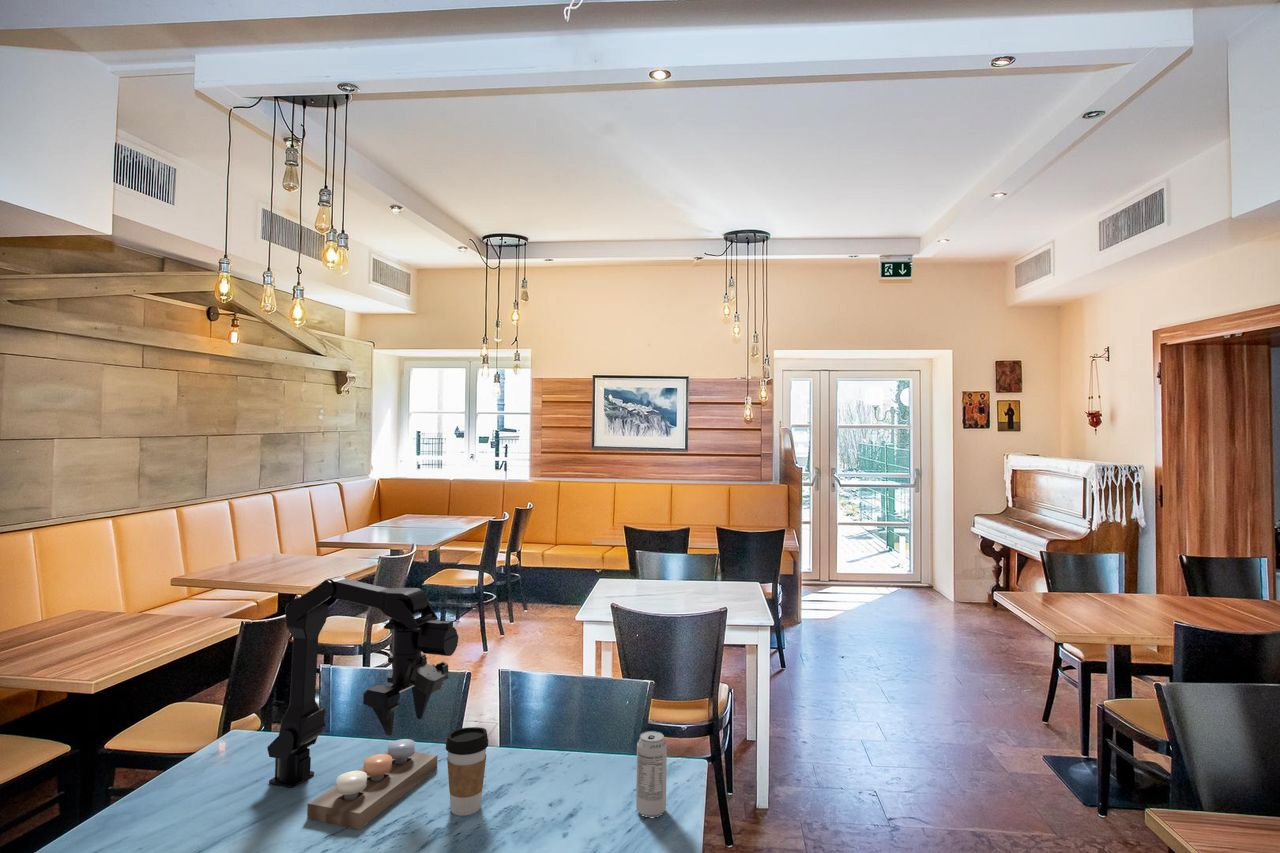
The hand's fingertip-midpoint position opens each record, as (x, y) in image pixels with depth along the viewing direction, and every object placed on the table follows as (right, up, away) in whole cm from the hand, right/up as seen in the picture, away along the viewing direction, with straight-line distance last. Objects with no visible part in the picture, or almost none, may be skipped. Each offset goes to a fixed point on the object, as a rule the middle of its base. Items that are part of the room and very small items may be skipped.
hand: (404, 726), depth 141 cm
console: (-6, -14, +1) cm, 16 cm away
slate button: (-4, -13, +9) cm, 16 cm away
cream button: (-9, -12, -6) cm, 16 cm away
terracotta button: (-6, -13, +2) cm, 14 cm away
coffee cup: (+14, -15, -4) cm, 21 cm away
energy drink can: (+51, -15, -5) cm, 54 cm away
